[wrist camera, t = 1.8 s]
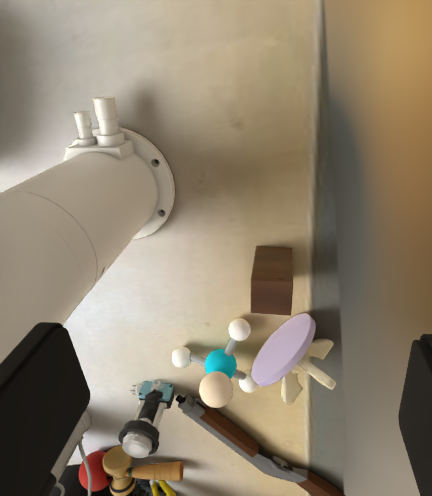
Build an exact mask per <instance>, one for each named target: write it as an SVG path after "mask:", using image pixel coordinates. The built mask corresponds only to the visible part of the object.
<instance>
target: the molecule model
mask: <svg viewBox="0 0 432 496" xmlns="http://www.w3.org/2000/svg"><path fill="white" fill-rule="evenodd" d="M229 334H230V336H231V338H230V340H229V343H228V345H227V347H226V349H216V350H214V351H212V352H211V353H210V354H209V355H208V356H207V358H206V359H205V358H203V357H201V356H198V355H196V354H193V353H191V352H190V350H189V349H188V348H186V347H179V348H177V349H175V350H174V352H173V354H172V362H173V364H174V365H175V366H177V367H179V368H184V367H187V366H188V365H189V364H190V363H191V361H192V362H195V363H197V364H199V365H201V366H204V367H205V369H206V372H207V375H206V376H205V377H204V378H203V379H202V381H201V383H200V387H199V392H200V396H201V398H202V400H203V401H204V402H205V403H206V404H207V405H208V406H210V407H214V408H219V407H222V406H224V405H226V404H227V403H228V402H229V401H230V399H231V398H232V395H233V384H232V382H231V380H230V379H231V378H232V377H235V378H238V379H239V385H240V387H241V389H242V390H244V391H245V392H253V391H255V390H256V389H257V388H258V386H259V385H258V384H257V383H256V382H255V381H254V380H253V379H252V376H251V371H245V372H241V371H239V370H236V367H237V364H236V360H235V357H234V356H233V354H232V353H233V351H234V349H235V347H236V344H237V342H238V341H242V340H245V339H246V338H247V337H248V336H249V334H250V325H249V323H248V322H247V321H246V320H244V319H241V318H238V319H235V320H233V321H232V322H231V323H230V325H229Z"/></svg>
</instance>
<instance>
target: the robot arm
mask: <svg viewBox="0 0 432 496" xmlns="http://www.w3.org/2000/svg"><path fill="white" fill-rule="evenodd" d="M93 102H94V107H95V112H96V117H97V119H98V123H99V128H96V129H93V130H92V128H91V125H92V124H91V119H90V114H89V111H80V112H74V116H75V121H76V125H77V127H78V131H79V137H78V138H77V139H75V140H74V141H73V143H72V144H71V145H70V146H69V147H68V148H66V149H65V151H66V154H65V156H64V159H63V162H62V163H60V164H58V165H56V166H54V167H52V168H50V169H48V170H46V171H44V172H42V173H40V174H38V175H36V176H34V177H32V178H30V179H28V180H26V181H24V182H22V183H20V184H18V185H16V186H14V187H12V188H10V189H8V190H6V191H4V192H2V193H0V496H38V494H39V492H40V490H41V488H42V487H43V485H44V483H45V481H46V479H47V478H48V476H49V474H50V472H51V470H52V469H53V467H54V465H55V463H56V461H57V460H58V458H59V456H60V454H61V452H62V451H63V449H64V447H65V445H66V443H67V442H68V440H69V438H70V436H71V435H72V433H73V431H74V429H75V427H76V426H77V424H78V422H79V420H80V418H81V417H82V415H83V413H84V411H85V409H86V408H87V406H88V404H89V401H90V390H89V388H88V385H87V382H86V379H85V377H84V374H83V371H82V369H81V366H80V363H79V360H78V358H77V355H76V352H75V349H74V347H73V344H72V341H71V338H70V336H69V333H68V331H67V329H66V328H64V327H63V324H64V323H65V321H66V320H67V319H68V318H69V316H70V315H71V314H72V312H73V311H74V310H75V309H76V307H77V306H78V305H79V303H80V302H81V301H82V300H83V299H84V297H85V296H86V295H87V294H88V292H89V291H90V290H91V289H92V288H93V287H94V285H95V284H96V283H97V282H98V280H99V279H100V278H101V277H102V276H103V274H104V273H105V272H106V271H107V269H108V268H109V267H110V266H111V265H112V263H113V262H114V261H115V260H116V258H117V257H118V256H119V255H120V254H121V252H122V251H123V250H124V249H125V248H126V246H127V245H128V244H129V243H130V241H131V240H135V239H140V238H144V237H146V236H148V235H151V234H152V233H154V232H155V231H156V230H158V229H159V228H160V227H161V226H162V225H163V223H164V222H165V221H166V219H167V218H168V216H169V215H170V212H171V210H172V208H173V203H174V198H175V185H174V180H173V175H172V173H171V170H170V168H169V165H168V163H167V162H166V160H165V158H164V157H163V155H162V154H161V153H160V151H159V150H158V149H157V148H156V147H155V146H154V145H153V144H152V143H151V142H149V141H148V140H147V139H146V138H145V137H143V136H141V135H139V134H137V133H136V132H134V131H131V130H128V129H125V128H121V127H118V122H117V117H118V116H117V110H116V104H115V98H114V97H98V98H93ZM156 159H157V160H158V161H159V163H157V162H156ZM162 210H164V211H165V212H163V211H162ZM399 426H400V430H401V433H402V437H403V440H404V443H405V447H406V450H407V453H408V456H409V460H410V463H411V466H412V470H413V473H414V476H415V479H416V483H417V486H418V489H419V492H420V496H432V334H423V335H422V336H421V338H420V340H414V341H413V343H412V347H411V352H410V358H409V362H408V368H407V373H406V378H405V384H404V389H403V394H402V400H401V404H400V410H399Z"/></svg>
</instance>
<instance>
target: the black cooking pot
mask: <svg viewBox="0 0 432 496" xmlns="http://www.w3.org/2000/svg"><path fill="white" fill-rule="evenodd" d="M79 469H80V466H68V467H65V469H64V471H63V473H62V475H61V477H60V479H59V481H58V483H60V484H61V485H63V487H64V489H65V493H64V496H88V490H87V489H85V488H84V487H83V486H82V485H81V483H80V480H79ZM49 496H61V489H60V488H58V487H57V486H55V487H54V488H53V489H52V491H51V493H50V495H49ZM91 496H114V495H113V494H112V493H111V490H110V487H109V484H108V485H107V486H106V487H105V488H103V489H102V490H99V491H91ZM126 496H133V493H132V491H131V492H130V493H129V494H128V495H126Z"/></svg>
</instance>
